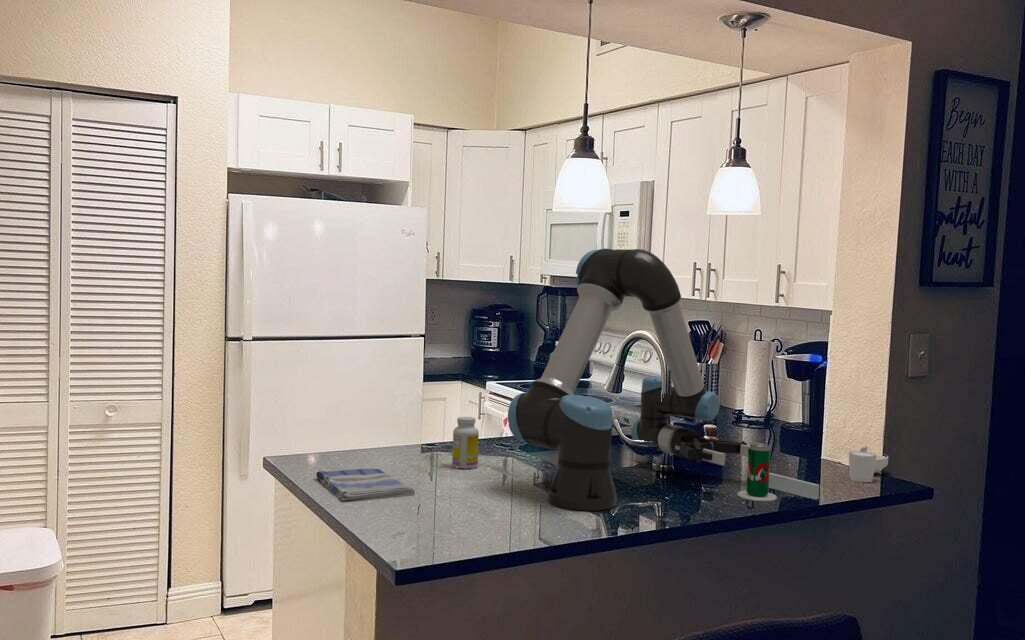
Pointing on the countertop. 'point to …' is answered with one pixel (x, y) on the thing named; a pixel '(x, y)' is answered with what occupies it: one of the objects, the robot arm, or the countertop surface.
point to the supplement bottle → (465, 443)
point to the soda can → (758, 470)
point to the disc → (767, 498)
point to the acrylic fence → (794, 486)
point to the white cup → (861, 466)
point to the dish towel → (363, 484)
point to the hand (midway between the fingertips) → (743, 457)
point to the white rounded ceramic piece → (880, 460)
